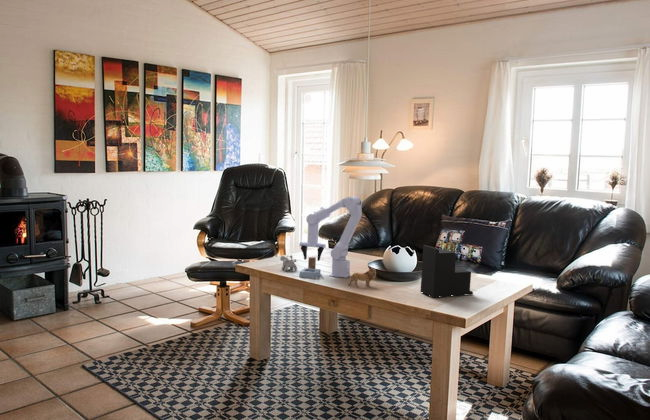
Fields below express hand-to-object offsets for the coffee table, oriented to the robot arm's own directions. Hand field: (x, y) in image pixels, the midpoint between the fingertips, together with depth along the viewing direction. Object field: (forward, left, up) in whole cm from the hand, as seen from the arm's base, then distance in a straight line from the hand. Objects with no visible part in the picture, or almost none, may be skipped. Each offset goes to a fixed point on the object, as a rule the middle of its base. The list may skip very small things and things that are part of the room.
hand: (311, 259), depth 293 cm
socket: (-2, +10, -7) cm, 12 cm away
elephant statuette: (+15, -1, -7) cm, 16 cm away
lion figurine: (-33, +21, -7) cm, 40 cm away
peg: (0, 0, -7) cm, 7 cm away
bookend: (-74, +21, -7) cm, 77 cm away
